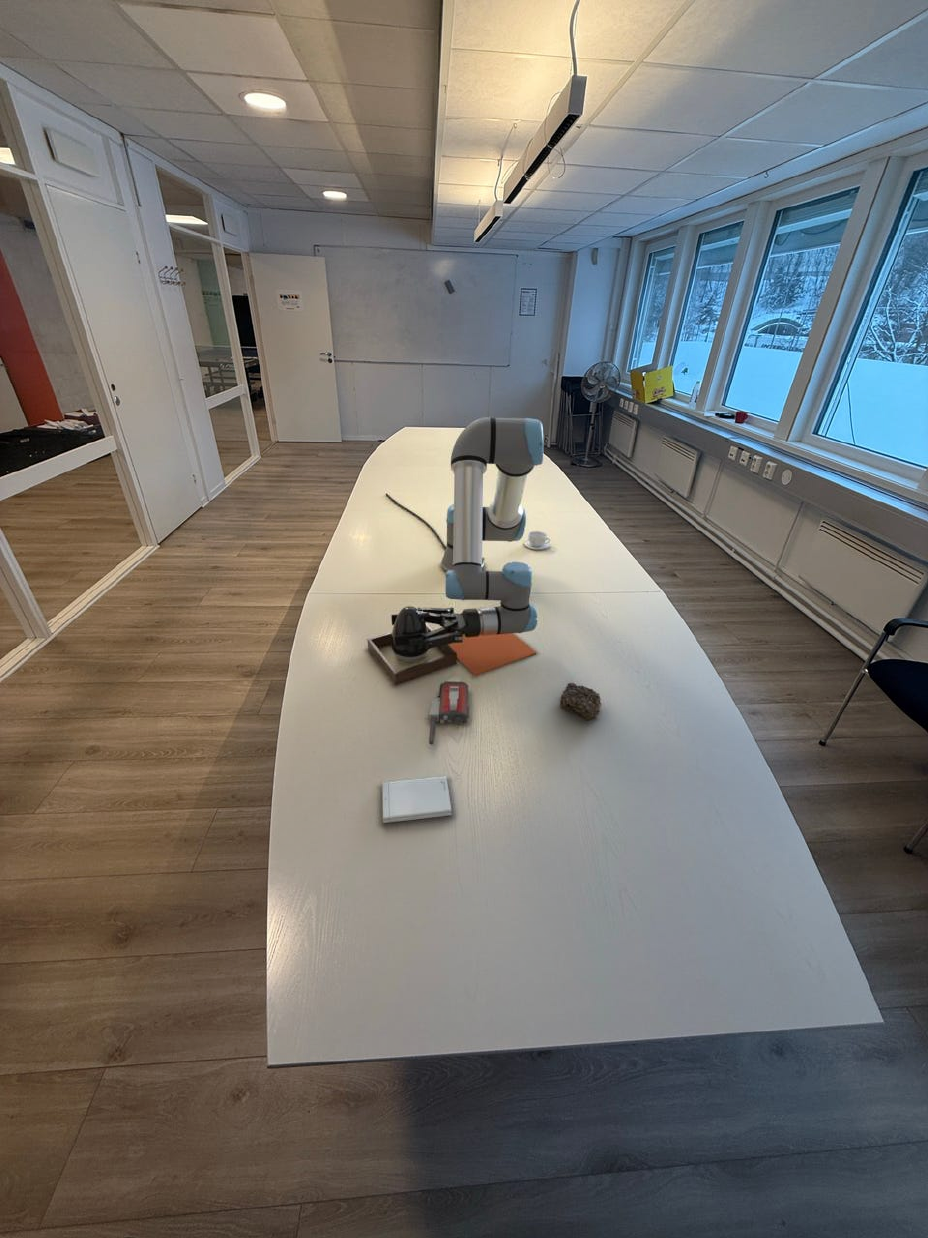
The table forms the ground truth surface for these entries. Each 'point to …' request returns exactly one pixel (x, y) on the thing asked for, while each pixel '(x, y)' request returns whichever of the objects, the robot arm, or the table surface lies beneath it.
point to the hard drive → (415, 799)
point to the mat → (490, 651)
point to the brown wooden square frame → (413, 671)
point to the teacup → (537, 540)
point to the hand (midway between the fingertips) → (393, 630)
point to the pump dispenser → (409, 624)
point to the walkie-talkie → (449, 706)
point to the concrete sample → (581, 701)
